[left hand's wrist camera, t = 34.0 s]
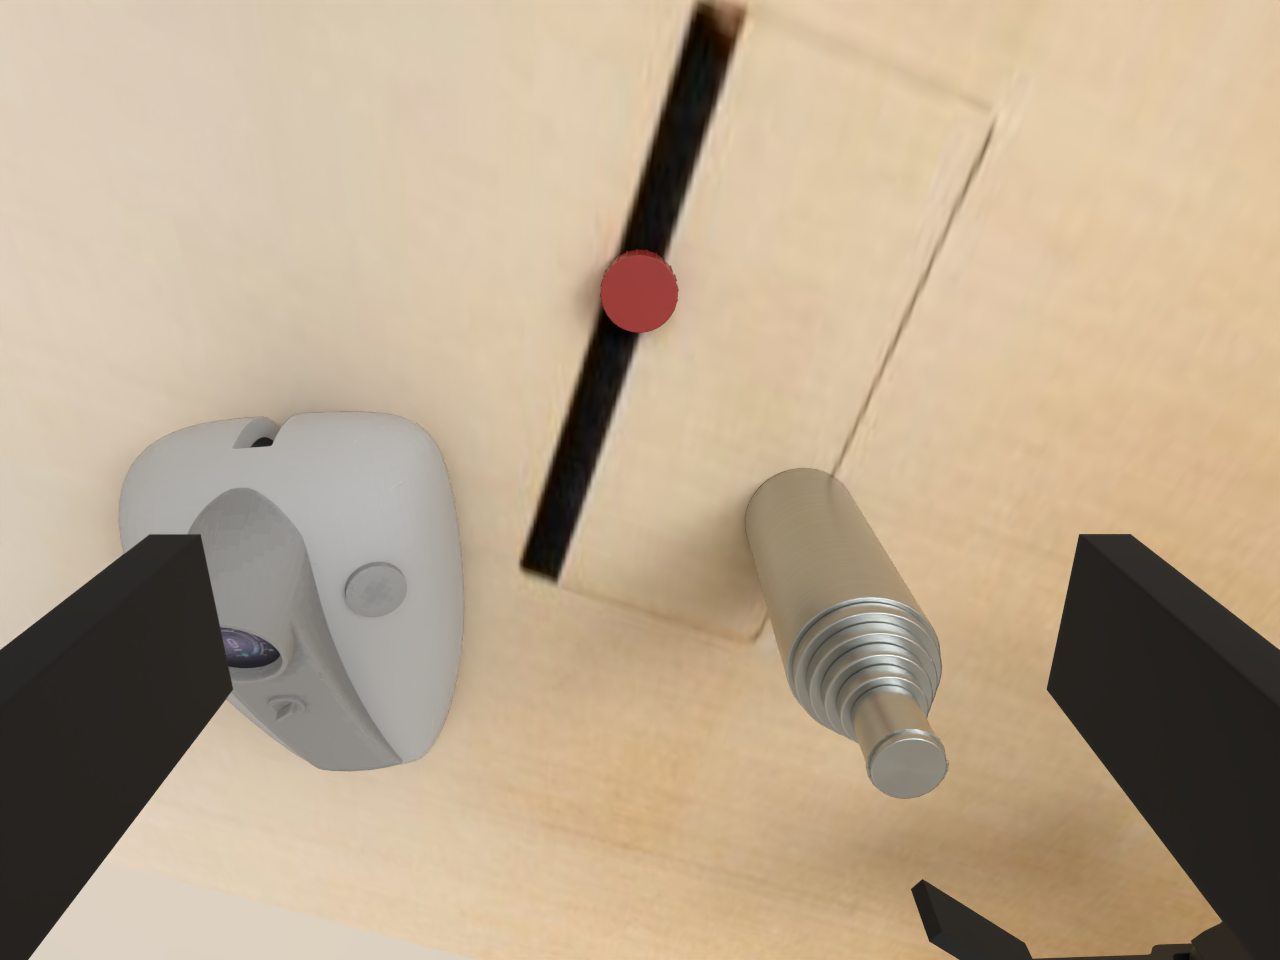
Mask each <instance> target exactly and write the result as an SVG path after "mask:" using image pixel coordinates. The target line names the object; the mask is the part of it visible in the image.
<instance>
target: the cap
mask: <svg viewBox="0 0 1280 960" xmlns="http://www.w3.org/2000/svg"><path fill="white" fill-rule="evenodd" d="M676 281H677V280H676V276H675V275H674V274H673V271H672V268H671V266H669V265H668V263H667V262H666V261H665V259H664V258H661V257H660V256H659V255H657V253H653V252H650V251H648V250H638V249H636V250H633V251H629V252H628V251H626V253H624V254H622V255H620V256H619V255H618V256H617V258H616V259H615V260H614V261H613V262H611V263H610V266H609V267H608V269H607V270H605V273H604V280H602V283H601V286H602V288H601V294H600V297H601V299H602V306H603V307H604V310H605V312H606V314H607V315H608V317H609V318H610V319H611V320H612V321H613V322H614V323H615V324H616V325H617V326H619V327H621V328H622V329H625V330H627V331H631V332H637V333H642V332H648V331H652V330H654V329H656V328H658V327H660V326H661V325H663V324H664V323H665V322H666V321H667V320H668V319H669V318H670V316H671V315H672V313H673V311H674V310H675V307H676V303H677V301H678V299H677V297H678V286H677V284H676Z"/></svg>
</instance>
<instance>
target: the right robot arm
mask: <svg viewBox="0 0 1280 960" xmlns="http://www.w3.org/2000/svg"><path fill="white" fill-rule="evenodd" d="M911 891H912V893H913V896H914V899H915V902H916V905H917V908H918V911H919V913H920V916H921V919H922V922H923V925H924V928H925V931H926V933H927V936H928V939H929V942H931V943H933V944H934V945H936V946H938V947H939V948H941V949H943V950H944V951H946V952H948V953H949V954H951V955H953V956H954V957H956V958H958V959H959V960H1252V959H1251V958H1250V957H1249V955H1248V954H1247V953H1246V951H1245V950H1244V949H1243V947H1242V946H1241V945H1240V943H1239V942H1238V941H1237V939H1236V938H1235V937H1234V936H1233V934H1232V933H1231V932H1230V930H1229V929H1228V928H1227V926H1226V925H1225V924H1224V922H1223V921H1222V922H1221V923H1220V924H1218V925H1216V926H1214V927H1212V928H1210V929H1208V930H1206V931H1204V932H1202V933H1201V934H1200V935H1198V936H1197V937H1196V938H1194V939H1193V940H1191V942H1192V944H1166V945H1155V946H1154V947H1153V948H1152V952H1151V954H1149V955H1128V956H1100V957H1071V958H1043V959H1032V957H1031V955H1030V953H1029V951H1028V948H1027V946H1026V944H1025V943H1024V942H1022V941H1020V940H1019V939H1017V938H1016V937H1014V936H1012V935H1011V934H1009V933H1008V932H1006V931H1004V930H1003V929H1001V928H1000V927H998V926H996V925H995V924H993V923H992V922H990V921H988V920H987V919H985V918H984V917H982V916H980V915H979V914H977V913H976V912H974V911H972V910H971V909H969V908H968V907H966V906H965V905H963V904H961V903H960V902H958V901H957V900H955V899H953V898H952V897H950V896H949V895H947V894H945V893H944V892H942V891H941V890H939V889H937V888H936V887H934V886H933V885H931V884H929V883H928V882H926V881H925V880H923V879H922V880H921V881H920V882H919V883H918V884H916V885H915V886H914V887H913V888H912V889H911Z"/></svg>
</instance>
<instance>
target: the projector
mask: <svg viewBox="0 0 1280 960" xmlns="http://www.w3.org/2000/svg"><path fill="white" fill-rule="evenodd" d="M119 527H120V536H121V544H122V547H123V551H124V554H125V553H126V552H127V551H129V550H130V549H131V548H132V547H134V546H135V545H136V544H138V543H139V542H140V541H141V540H143V539H144V538H145V537H147V536H148V535H149V534H201V538H202V543H203V547H204V552H205V557H206V562H207V567H208V571H209V576H210V581H211V586H212V590H213V595H214V600H215V605H216V610H217V614H218V619H219V624H220V629H221V633H222V638H223V643H224V648H225V652H226V657H227V662H228V667H229V672H230V676H231V681H232V686H233V690H232V692H231V693H230V694H229V696H228V697H227V698H226V699H227V700H228V701H229V702H230V703H231V704H232V705H233V706H235V707H236V708H237V709H238V710H239V711H240V712H241V713H242V714H244V715H245V716H246V717H247V718H248V719H250V720H251V721H252V722H253V723H255V724H256V725H257V726H258V727H260V728H261V729H262V730H263V731H265V732H266V733H267V734H268V735H269V736H271V737H272V738H273V739H275V740H276V741H278V742H279V743H280V744H282V745H283V746H285V747H286V748H287V749H289V750H290V751H291V752H293V753H294V754H296V755H298V756H299V757H301V758H303V759H304V760H306V761H308V762H309V763H311V764H312V765H314V766H315V767H317V768H319V769H323V770H331V771H362V770H372V769H379V768H385V767H389V766H394V765H399V764H405V763H409V762H413V761H416V760H418V759H420V758H422V757H423V756H425V755H426V754H427V753H428V752H429V750H430V749H431V748H432V746H433V744H434V743H435V741H436V739H437V737H438V736H439V734H440V732H441V730H442V727H443V725H444V723H445V720H446V717H447V714H448V712H449V708H450V705H451V701H452V698H453V694H454V690H455V685H456V681H457V676H458V670H459V664H460V658H461V650H462V640H463V629H464V583H463V566H462V554H461V544H460V536H459V528H458V521H457V514H456V508H455V502H454V497H453V492H452V488H451V483H450V479H449V475H448V472H447V468H446V465H445V462H444V459H443V456H442V454H441V451H440V449H439V447H438V445H437V443H436V442H435V441H434V439H433V438H432V436H431V435H430V434H429V433H428V432H427V431H426V430H425V429H423V428H422V427H421V426H419V425H417V424H415V423H414V422H412V421H410V420H407V419H405V418H402V417H399V416H395V415H391V414H384V413H374V412H320V413H304V414H297V415H294V416H292V417H291V418H289V419H288V420H287V421H286V422H285V423H284V425H283V426H282V427H281V428H280V427H279V426H278V425H277V424H276V423H275V422H274V421H272V420H271V419H269V418H267V417H251V418H239V419H230V420H222V421H215V422H209V423H203V424H199V425H194V426H190V427H187V428H184V429H181V430H178V431H175V432H173V433H170V434H168V435H166V436H164V437H162V438H161V439H159V440H157V441H156V442H154V443H153V444H151V445H150V446H149V447H147V448H146V449H145V450H144V451H143V452H142V453H141V454H140V455H139V456H138V457H137V459H136V460H135V461H134V463H133V464H132V466H131V467H130V469H129V471H128V473H127V476H126V478H125V481H124V483H123V487H122V492H121V497H120V502H119Z"/></svg>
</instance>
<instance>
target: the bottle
mask: <svg viewBox="0 0 1280 960" xmlns="http://www.w3.org/2000/svg"><path fill="white" fill-rule="evenodd" d="M745 528H746V534H747V537H748V541H749V544H750V548H751V551H752V555H753V559H754V562H755V566H756V569H757V573H758V576H759V580H760V584H761V587H762V591H763V594H764V598H765V601H766V605H767V609H768V612H769V616H770V619H771V623H772V626H773V630H774V634H775V637H776V641H777V644H778V648H779V651H780V655H781V659H782V662H783V666H784V669H785V673H786V676H787V680H788V683H789V686H790V689H791V691H792V693H793V695H794V697H795V698H796V699H797V701H798V702H799V703H800V704H801V706H802V707H803V708H804V709H805V710H806V712H807V713H808V714H809V715H810V716H811V717H812V718H813V719H814V720H816V721H817V722H818V723H820V724H821V725H823V726H825V727H827V728H829V729H831V730H833V731H835V732H836V733H838V734H841V735H843V736H845V737H847V738H849V739H851V740H854V741H855V742H857V743H859V745H860V748H861V750H862V753H863V756H864V759H865V761H866V769H867V774H868V777H869V779H870V780H871V782H872V783H873V785H874V786H875V787H877V788H878V789H879V790H880V791H882V792H883V793H885V794H887V795H889V796H891V797H895V798H903V799H907V798H915V797H919V796H922V795H924V794H926V793H928V792H930V791H931V790H933V789H934V788H935V787H936V786H938V785H939V783H940V782H941V781H942V780H943V779H944V777H945V775H946V773H947V771H948V765H949V762H948V760H946V757H945V756H946V755H945V750H944V747H943V745H942V743H941V741H940V739H939V738H937V737H936V736H935V734H934V732H933V730H932V728H931V726H930V724H929V722H928V720H927V716H928V713H929V710H930V708H931V705H932V702H933V700H934V697H935V694H936V691H937V688H938V685H939V683H940V678H941V670H942V664H941V656H940V655H941V654H940V645H939V641H938V638H937V635H936V633H935V631H934V629H933V627H932V626H931V624H930V622H929V621H928V619H927V618H926V616H925V614H924V613H923V611H922V610H921V608H920V606H919V605H918V603H917V601H916V600H915V598H914V597H913V595H912V593H911V592H910V590H909V588H908V587H907V585H906V584H905V582H904V580H903V579H902V577H901V576H900V574H899V572H898V571H897V569H896V567H895V566H894V564H893V563H892V561H891V559H890V558H889V556H888V554H887V553H886V551H885V550H884V548H883V546H882V545H881V543H880V541H879V540H878V538H877V537H876V535H875V533H874V532H873V530H872V529H871V527H870V525H869V524H868V522H867V520H866V519H865V517H864V516H863V514H862V512H861V511H860V509H859V507H858V506H857V504H856V503H855V501H854V499H853V498H852V496H851V495H850V493H849V491H848V490H847V488H846V487H845V486H844V485H843V484H842V483H841V482H840V481H839V480H838V479H836V478H835V477H833V476H832V475H830V474H828V473H825V472H822V471H819V470H815V469H804V468H803V469H794V470H789V471H785V472H782V473H780V474H778V475H776V476H774V477H772V478H771V479H769V480H768V481H766V482H765V483H764V484H763V485H762V486H761V487H760V488H759V489H758V490H757V491H756V493H755V494H754V495H753V497H752V499H751V500H750V503H749V505H748V508H747V511H746V517H745Z"/></svg>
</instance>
